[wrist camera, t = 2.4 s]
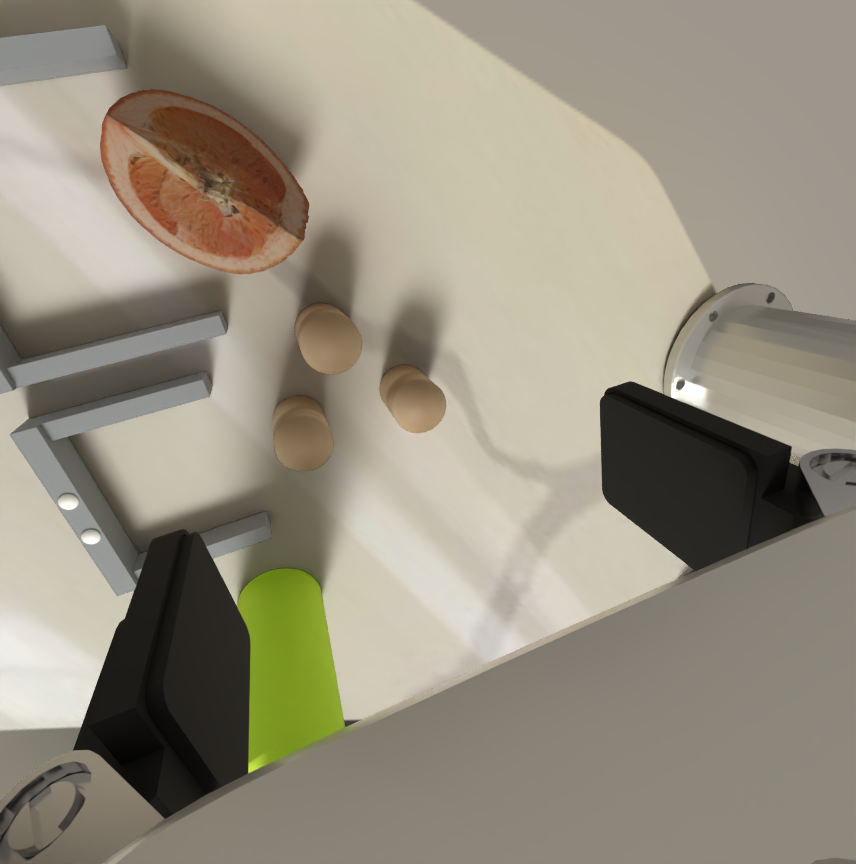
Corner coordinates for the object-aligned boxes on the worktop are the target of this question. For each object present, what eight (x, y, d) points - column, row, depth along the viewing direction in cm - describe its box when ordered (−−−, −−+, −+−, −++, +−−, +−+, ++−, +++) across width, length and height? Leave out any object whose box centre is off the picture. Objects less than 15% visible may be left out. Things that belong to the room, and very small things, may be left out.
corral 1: (116, 40, 21) (101, 20, 19) (227, 327, 27) (225, 335, 25) (-188, 79, 19) (-242, 61, 17) (6, 384, 24) (-17, 398, 22)
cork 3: (420, 358, 31) (440, 374, 27) (430, 402, 32) (450, 423, 29) (374, 372, 30) (387, 391, 27) (386, 416, 32) (401, 440, 28)
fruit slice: (323, 189, 26) (337, 180, 21) (264, 297, 27) (265, 311, 22) (162, 70, 22) (138, 30, 17) (100, 203, 23) (63, 196, 18)
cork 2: (315, 389, 30) (323, 411, 26) (330, 433, 31) (340, 460, 27) (264, 404, 29) (265, 429, 25) (282, 449, 30) (285, 479, 27)
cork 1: (341, 296, 28) (352, 306, 24) (355, 348, 29) (368, 364, 26) (287, 310, 27) (291, 322, 24) (304, 362, 29) (310, 381, 25)
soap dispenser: (214, 582, 32) (162, 996, 15) (317, 560, 34) (378, 904, 17) (229, 645, 35) (201, 1068, 17) (325, 621, 37) (386, 979, 19)
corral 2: (205, 370, 27) (201, 382, 25) (270, 523, 32) (271, 542, 30) (28, 419, 25) (8, 435, 23) (126, 572, 30) (116, 597, 28)
